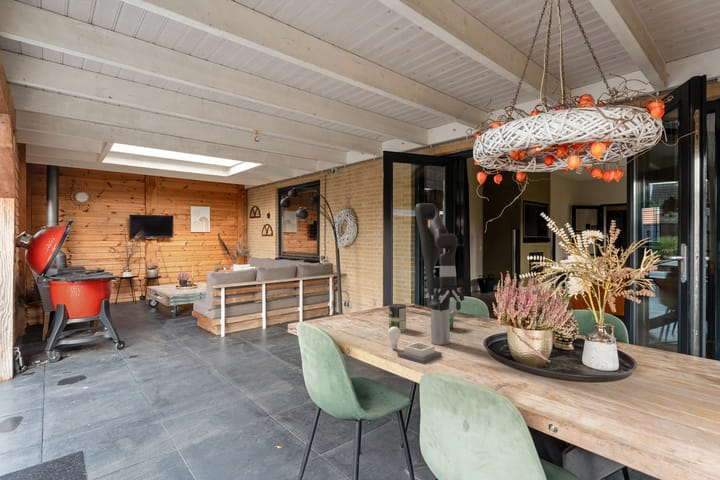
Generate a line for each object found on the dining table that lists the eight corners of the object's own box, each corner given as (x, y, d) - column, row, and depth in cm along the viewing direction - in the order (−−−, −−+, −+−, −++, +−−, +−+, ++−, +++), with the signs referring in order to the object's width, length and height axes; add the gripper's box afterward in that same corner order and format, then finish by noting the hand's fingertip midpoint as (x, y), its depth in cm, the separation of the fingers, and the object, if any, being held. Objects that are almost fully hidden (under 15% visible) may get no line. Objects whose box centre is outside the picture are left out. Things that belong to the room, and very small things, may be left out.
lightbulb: (391, 352, 173) (391, 328, 173) (385, 348, 179) (385, 326, 179) (403, 350, 175) (403, 327, 175) (397, 346, 181) (396, 324, 181)
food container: (447, 331, 208) (446, 314, 208) (438, 330, 212) (437, 312, 212) (459, 328, 216) (459, 311, 216) (450, 326, 221) (450, 309, 220)
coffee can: (390, 332, 210) (390, 307, 210) (387, 327, 220) (386, 304, 220) (408, 331, 211) (408, 306, 211) (404, 326, 221) (403, 303, 221)
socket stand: (397, 356, 167) (397, 346, 167) (416, 349, 176) (416, 340, 176) (423, 363, 157) (422, 353, 157) (441, 355, 166) (441, 345, 166)
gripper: (458, 275, 179) (459, 309, 178) (430, 276, 176) (432, 310, 175) (465, 275, 172) (467, 310, 170) (437, 276, 169) (438, 312, 167)
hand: (449, 310), depth 172 cm, fingers open, 8 cm apart
